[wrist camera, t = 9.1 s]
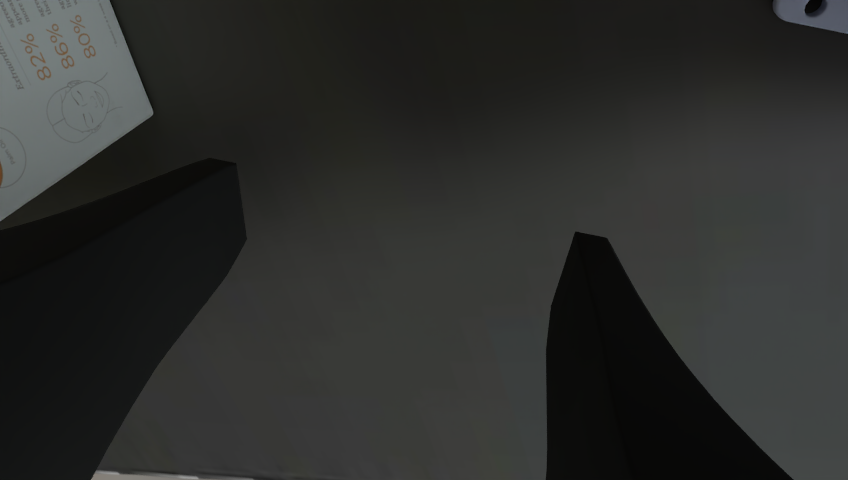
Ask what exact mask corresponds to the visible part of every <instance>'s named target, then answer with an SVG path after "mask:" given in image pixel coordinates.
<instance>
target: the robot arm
mask: <svg viewBox="0 0 848 480" xmlns="http://www.w3.org/2000/svg"><path fill="white" fill-rule="evenodd" d="M809 1H810V0H774V1H773V11H774V12H775V14H776V15H777V16H778V17H779V18H780V19H782V20H784V21H787V22H792V23H797V24H802V25H807V26H812V27H817V28H821V29H826V30H831V31H836V32H841V33H846V34H848V0H822V3H821V6H820V7H819V8H818V9H817V10H816V11H814V12H812V13H805V11H804V9H805V6H806V4H807V3H808V2H809ZM246 240H247V237H246V230H245V223H244V215H243V208H242V201H241V194H240V187H239V180H238V173H237V166H236V163H232V162H227V161H222V160H217V159H212V158H208V159H205V160H201V161H198V162H195V163H192V164H189V165H187V166H184V167H181V168H179V169H176V170H173V171H171V172H168V173H166V174H163V175H161V176H158V177H156V178H153V179H151V180H148V181H145V182H143V183H140V184H138V185H135V186H133V187H130V188H128V189H125V190H123V191H120V192H118V193H115V194H112V195H110V196H107V197H104V198H101V199H98V200H96V201H93V202H90V203H87V204H84V205H82V206H79V207H76V208H73V209H70V210H68V211H65V212H62V213H59V214H56V215H53V216H50V217H46V218H43V219H40V220H36V221H33V222H30V223H26V224H22V225H19V226H15V227H12V228H8V229H4V230H1V231H0V480H91V479H92V477H93V475H94V473H95V471H96V469H97V467H98V465H99V464H100V462H101V460H102V458H103V456H104V454H105V452H106V450H107V449H108V447H109V445H110V443H111V442H112V440H113V438H114V436H115V435H116V433H117V431H118V429H119V428H120V426H121V424H122V423H123V421H124V419H125V417H126V416H127V414H128V412H129V410H130V409H131V407H132V405H133V404H134V402H135V401H136V399H137V397H138V396H139V394H140V393H141V391H142V389H143V388H144V386H145V384H146V383H147V381H148V380H149V378H150V376H151V375H152V373H153V372H154V370H155V369H156V367H157V366H158V364H159V363H160V362H161V360H162V359H163V357H164V356H165V355H166V353H167V352H168V351H169V349H170V348H171V347H172V345H173V344H174V343H175V342H176V340H177V339H178V338H179V336H180V335H181V334H182V333H183V331H184V330H185V329H186V328H187V326H188V325H189V324H190V322H191V321H192V320H193V319H194V317H195V316H196V315H197V313H198V312H199V311H200V310H201V308H202V307H203V306H204V305H205V303H206V302H207V301H208V299H209V298H210V297H211V295H212V294H213V293H214V292H215V290H216V289H217V288H218V286H219V285H220V284H221V282H222V281H223V280H224V278H225V277H226V276H227V274H228V272H229V270H230V269H231V267H232V265H233V264H234V262H235V260H236V258H237V257H238V255H239V253H240V251H241V249H242V247H243V245H244V243H245V242H246ZM546 385H547V472H546V480H793V479H792V478H791V477H790V476H789V475H788V474H787V473H786V472H785V471H784V470H782V469H781V468H780V467H779V466H778V465H777V464H776V463H775V462H774V461H773V460H772V459H771V458H770V457H769V456H768V455H767V454H766V453H765V452H764V451H763V450H762V449H761V448H760V447H759V446H758V445H757V444H756V443H755V442H754V441H753V440H752V439H751V438H750V437H749V436H748V435H747V434H746V433H745V432H744V431H743V430H742V429H741V428H740V427H739V426H738V425H737V424H736V423H735V422H734V421H733V420H732V419H731V417H730V416H729V415H728V414H727V413H726V412H725V411H724V410H723V409H722V408H721V406H720V405H719V404H718V403H717V402H716V401H715V400H714V399H713V397H712V396H711V395H710V394H709V393H708V391H707V390H706V389H705V388H704V387H703V385H702V384H701V383H700V382H699V381H698V380H697V378H696V377H695V376H694V375H693V374H692V372H691V371H690V370H689V369H688V367H687V366H686V365H685V363H684V362H683V361H682V360H681V358H680V357H679V356H678V354H677V353H676V352H675V350H674V349H673V347H672V346H671V344H670V343H669V342H668V340H667V339H666V337H665V336H664V335H663V333H662V332H661V330H660V329H659V327H658V326H657V324H656V322H655V321H654V319H653V318H652V316H651V314H650V313H649V311H648V310H647V308H646V306H645V305H644V303H643V302H642V300H641V298H640V297H639V295H638V293H637V292H636V290H635V288H634V286H633V285H632V283H631V281H630V279H629V277H628V276H627V274H626V272H625V270H624V268H623V266H622V265H621V263H620V261H619V259H618V257H617V255H616V253H615V251H614V249H613V248H612V246H611V244H610V242H609V241H608V239H607V238H605V237H600V236H595V235H590V234H585V233H580V232H575V234H574V237H573V240H572V244H571V247H570V250H569V253H568V256H567V259H566V262H565V265H564V268H563V271H562V274H561V277H560V280H559V283H558V286H557V289H556V293H555V296H554V299H553V302H552V305H551V311H550V320H549V328H548V337H547V346H546Z"/></svg>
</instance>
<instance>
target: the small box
mask: <svg viewBox="0 0 848 480" xmlns="http://www.w3.org/2000/svg"><path fill="white" fill-rule="evenodd" d="M152 115H153V110H152V107H151V104H150V102H149V100H148V97H147V95H146V92H145V90H144V87H143V85H142V82H141V79H140V77H139V74H138V72H137V69H136V67H135V64H134V62H133V59H132V57H131V54H130V52H129V49H128V46H127V44H126V41H125V39H124V36H123V34H122V31H121V29H120V26H119V24H118V21H117V18H116V16H115V13H114V11H113V8H112V6H111V3H110V0H0V221H1V220H3V219H4V218H6V217H7V216H9V215H10V214H11V213H13V212H14V211H16V210H17V209H19V208H20V207H21V206H23V205H24V204H26V203H27V202H29V201H30V200H32V199H33V198H35V197H36V196H37V195H39V194H40V193H42V192H43V191H45V190H46V189H47V188H49V187H50V186H52V185H53V184H55V183H56V182H58V181H59V180H61V179H62V178H63V177H65V176H66V175H68V174H69V173H71V172H72V171H73V170H75V169H76V168H78V167H79V166H81V165H82V164H84V163H85V162H86V161H88V160H89V159H91V158H92V157H93V156H95V155H96V154H98V153H99V152H101V151H102V150H103V149H105V148H106V147H108V146H109V145H111V144H112V143H113V142H115V141H116V140H118V139H119V138H121V137H122V136H124V135H125V134H126V133H128V132H129V131H131V130H132V129H134V128H135V127H137V126H138V125H139V124H141V123H142V122H144V121H145V120H147V119H148V118H150V117H151V116H152Z"/></svg>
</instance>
